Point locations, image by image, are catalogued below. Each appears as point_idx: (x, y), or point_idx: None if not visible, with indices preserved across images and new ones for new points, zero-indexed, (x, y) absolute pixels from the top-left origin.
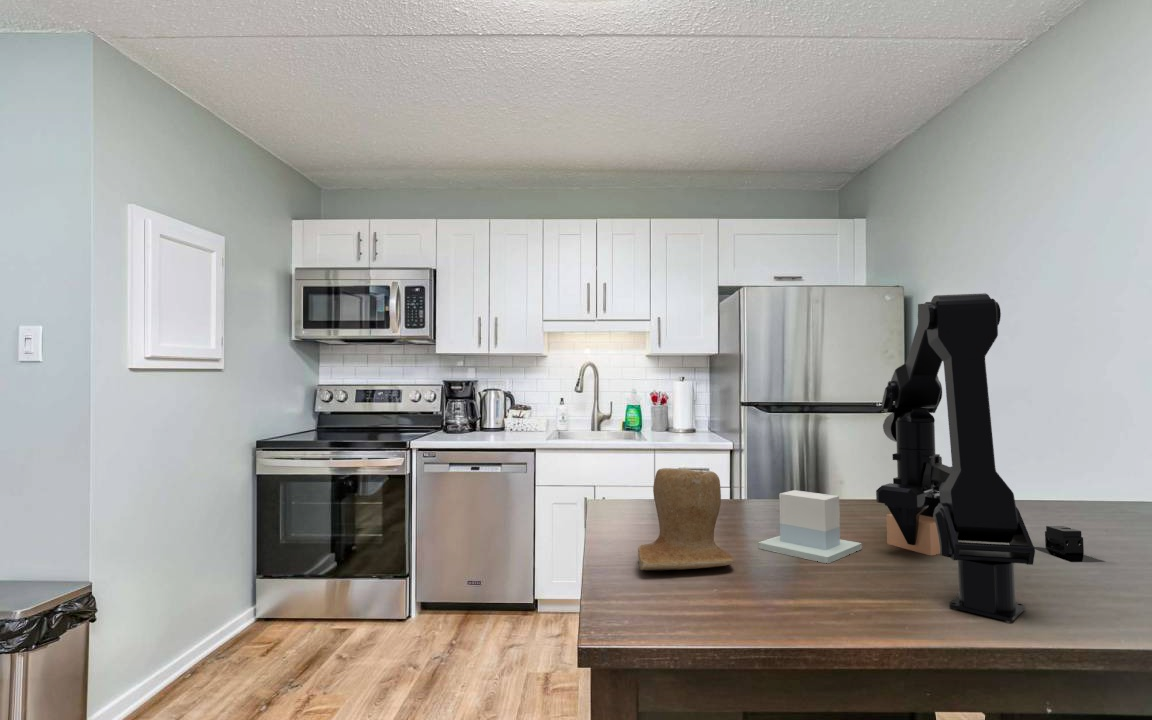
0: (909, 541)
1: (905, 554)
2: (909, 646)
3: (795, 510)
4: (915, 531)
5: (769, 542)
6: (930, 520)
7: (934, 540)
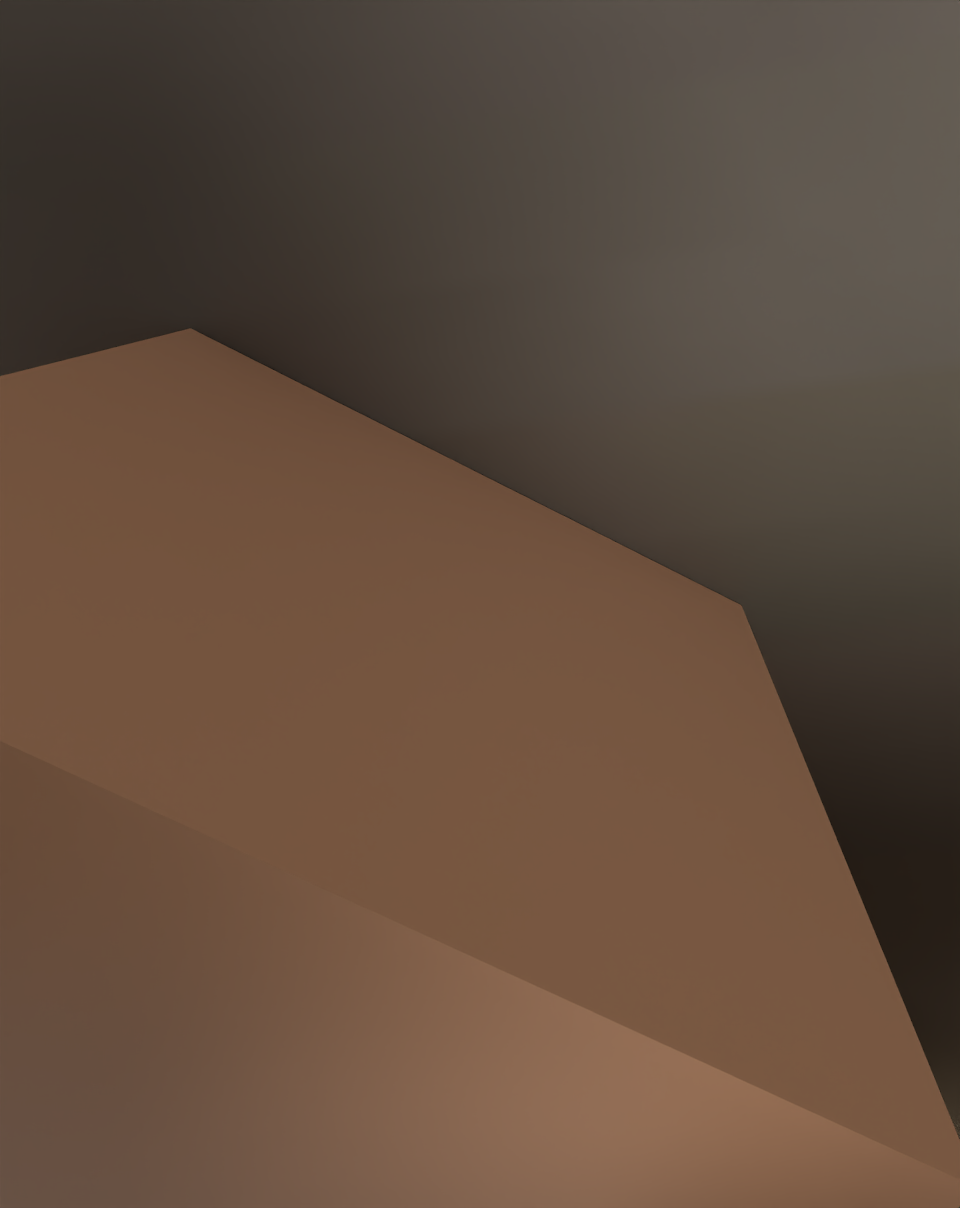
0: None
1: (886, 931)
2: None
3: None
4: None
5: None
6: (133, 1184)
7: (666, 682)
